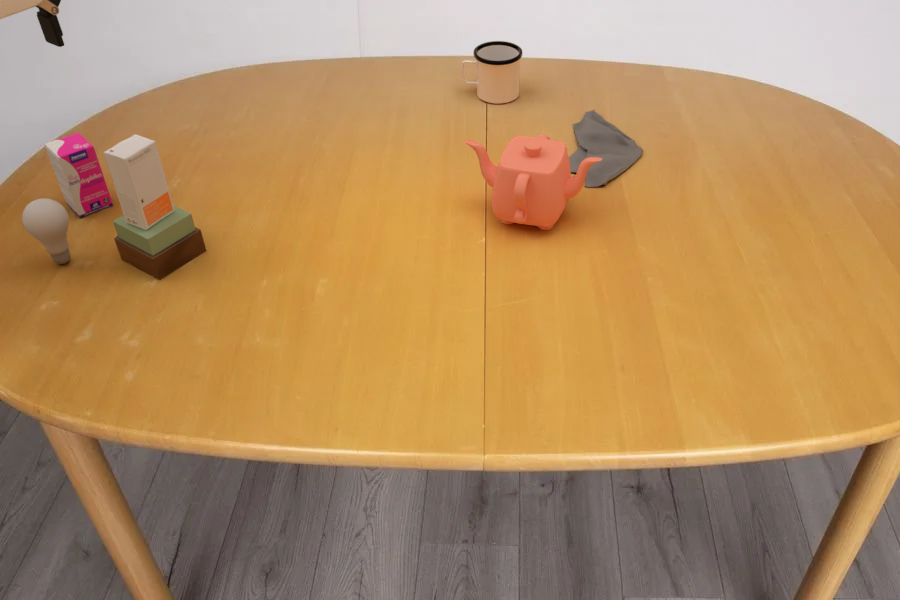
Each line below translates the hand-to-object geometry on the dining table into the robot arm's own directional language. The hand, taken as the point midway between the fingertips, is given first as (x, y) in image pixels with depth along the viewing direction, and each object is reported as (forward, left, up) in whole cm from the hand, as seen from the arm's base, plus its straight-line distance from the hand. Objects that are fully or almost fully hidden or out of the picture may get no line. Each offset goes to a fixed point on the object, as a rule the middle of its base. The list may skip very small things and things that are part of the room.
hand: (22, 57), depth 113 cm
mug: (+78, -19, -32) cm, 86 cm away
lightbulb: (-4, +3, -32) cm, 33 cm away
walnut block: (+6, -8, -32) cm, 34 cm away
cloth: (+72, -48, -32) cm, 92 cm away
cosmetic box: (+6, -8, -25) cm, 27 cm away
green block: (+6, -8, -28) cm, 30 cm away
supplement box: (+8, +13, -32) cm, 36 cm away
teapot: (+48, -48, -32) cm, 75 cm away
